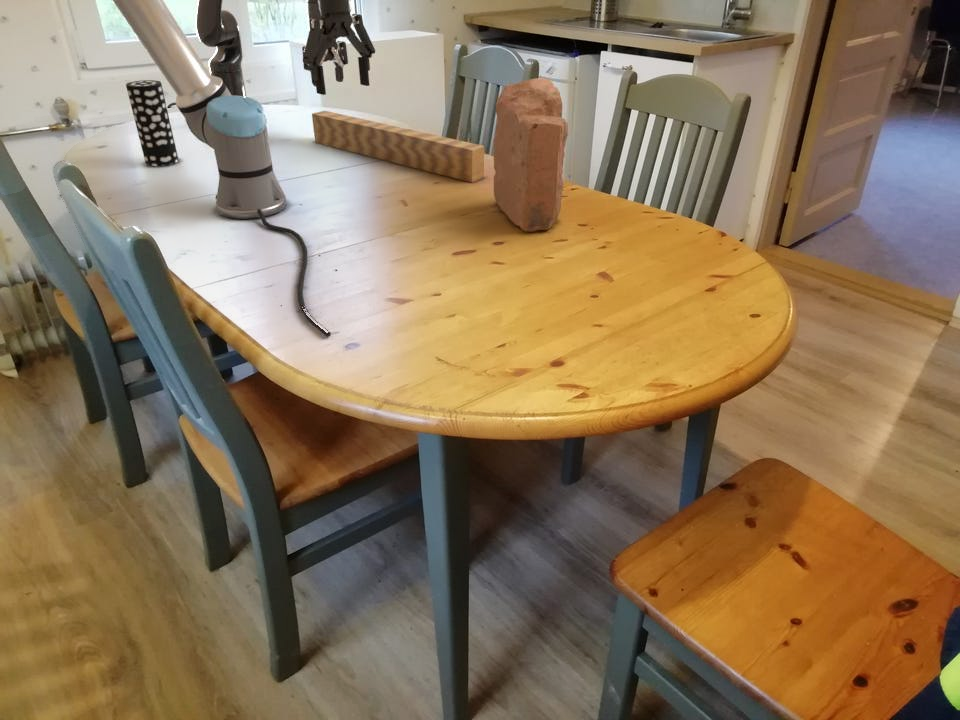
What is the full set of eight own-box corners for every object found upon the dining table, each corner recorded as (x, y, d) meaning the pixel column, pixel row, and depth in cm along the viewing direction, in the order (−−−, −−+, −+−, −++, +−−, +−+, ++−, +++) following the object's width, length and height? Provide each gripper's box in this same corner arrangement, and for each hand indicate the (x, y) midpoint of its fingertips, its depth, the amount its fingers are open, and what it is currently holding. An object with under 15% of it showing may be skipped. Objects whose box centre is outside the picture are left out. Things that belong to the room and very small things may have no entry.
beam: (484, 177, 178) (484, 145, 174) (472, 182, 175) (472, 150, 171) (327, 138, 208) (324, 110, 204) (315, 142, 205) (311, 113, 200)
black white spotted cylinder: (184, 157, 190) (167, 80, 179) (169, 166, 183) (151, 87, 172) (155, 156, 190) (136, 79, 179) (139, 165, 183) (119, 86, 172)
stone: (573, 229, 148) (583, 90, 134) (525, 235, 145) (529, 94, 131) (535, 200, 166) (540, 75, 151) (491, 204, 163) (492, 77, 148)
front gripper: (365, -12, 171) (372, 79, 182) (278, -4, 155) (292, 95, 167) (384, -10, 166) (391, 83, 178) (298, -1, 151) (311, 100, 163)
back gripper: (332, 17, 193) (337, 78, 201) (291, 21, 183) (299, 86, 192) (350, 19, 189) (356, 81, 198) (310, 24, 179) (318, 89, 188)
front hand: (343, 89), depth 172 cm, fingers open, 13 cm apart
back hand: (328, 83), depth 195 cm, fingers open, 8 cm apart
